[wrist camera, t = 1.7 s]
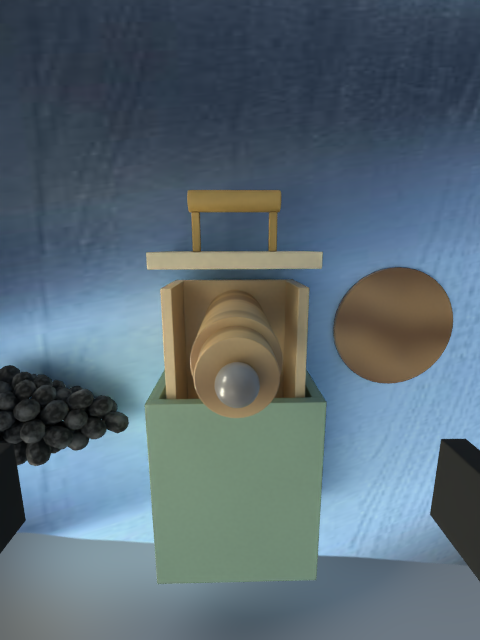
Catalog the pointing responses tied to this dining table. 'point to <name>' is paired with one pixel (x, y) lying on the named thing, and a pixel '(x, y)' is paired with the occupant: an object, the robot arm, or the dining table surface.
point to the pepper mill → (236, 357)
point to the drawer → (272, 294)
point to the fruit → (51, 415)
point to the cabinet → (235, 489)
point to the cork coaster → (393, 325)
